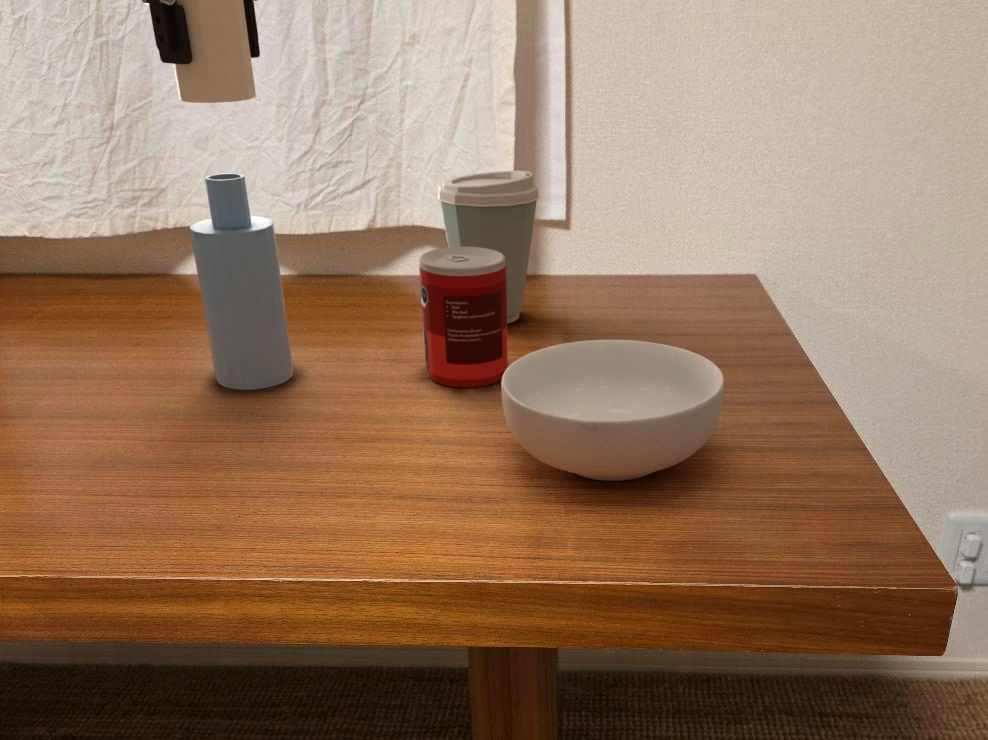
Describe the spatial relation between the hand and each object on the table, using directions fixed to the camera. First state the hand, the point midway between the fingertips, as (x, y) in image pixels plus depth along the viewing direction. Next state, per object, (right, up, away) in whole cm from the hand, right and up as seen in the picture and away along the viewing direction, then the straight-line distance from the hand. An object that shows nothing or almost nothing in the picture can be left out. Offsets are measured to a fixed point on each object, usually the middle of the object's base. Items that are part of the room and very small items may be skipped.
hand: (211, 57), depth 80 cm
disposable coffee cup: (+21, -14, +31) cm, 40 cm away
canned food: (+19, -23, +16) cm, 33 cm away
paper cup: (0, -3, +1) cm, 3 cm away
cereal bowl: (+31, -32, 0) cm, 45 cm away
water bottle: (-1, -23, +16) cm, 27 cm away
